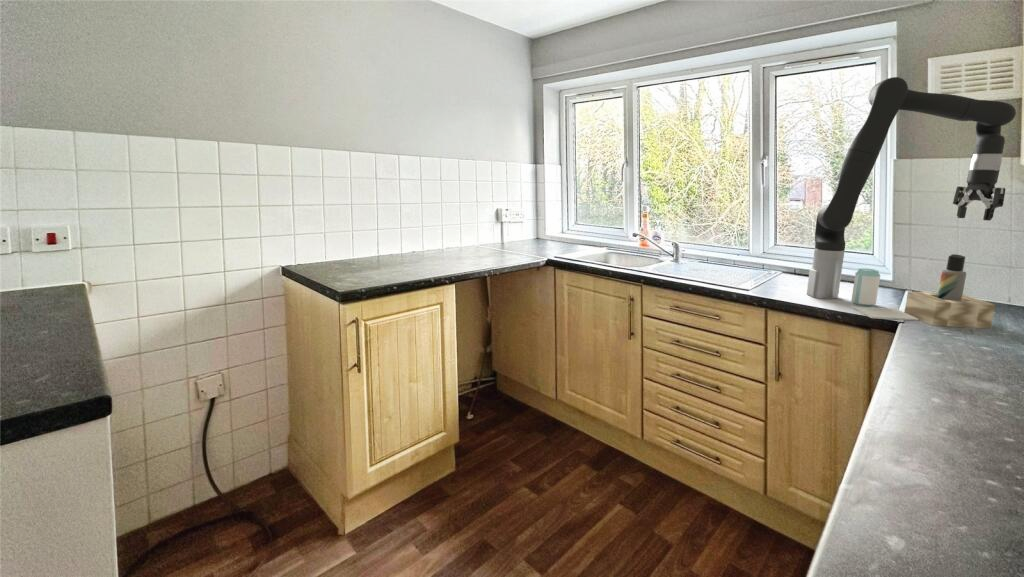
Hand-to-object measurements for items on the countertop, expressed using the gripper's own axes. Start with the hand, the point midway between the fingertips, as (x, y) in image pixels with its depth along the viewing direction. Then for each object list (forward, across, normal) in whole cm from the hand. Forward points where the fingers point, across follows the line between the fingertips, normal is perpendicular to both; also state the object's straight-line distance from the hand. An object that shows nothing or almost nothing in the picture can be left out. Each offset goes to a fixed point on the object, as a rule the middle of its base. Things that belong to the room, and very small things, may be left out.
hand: (973, 219), depth 173 cm
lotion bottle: (+30, +16, -22) cm, 41 cm away
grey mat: (+30, +8, -35) cm, 47 cm away
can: (+30, -5, -31) cm, 43 cm away
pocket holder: (+30, +16, -22) cm, 40 cm away
